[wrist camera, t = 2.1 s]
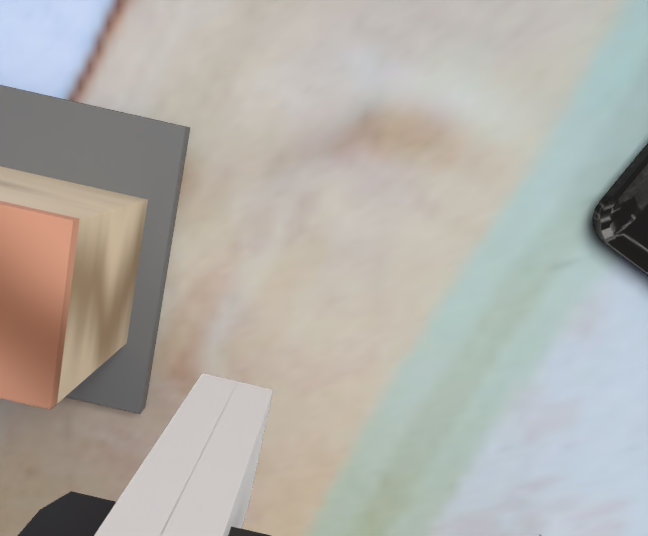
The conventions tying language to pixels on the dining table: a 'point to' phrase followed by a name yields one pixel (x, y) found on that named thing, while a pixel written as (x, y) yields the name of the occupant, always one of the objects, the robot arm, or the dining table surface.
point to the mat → (117, 176)
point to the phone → (627, 214)
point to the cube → (62, 282)
